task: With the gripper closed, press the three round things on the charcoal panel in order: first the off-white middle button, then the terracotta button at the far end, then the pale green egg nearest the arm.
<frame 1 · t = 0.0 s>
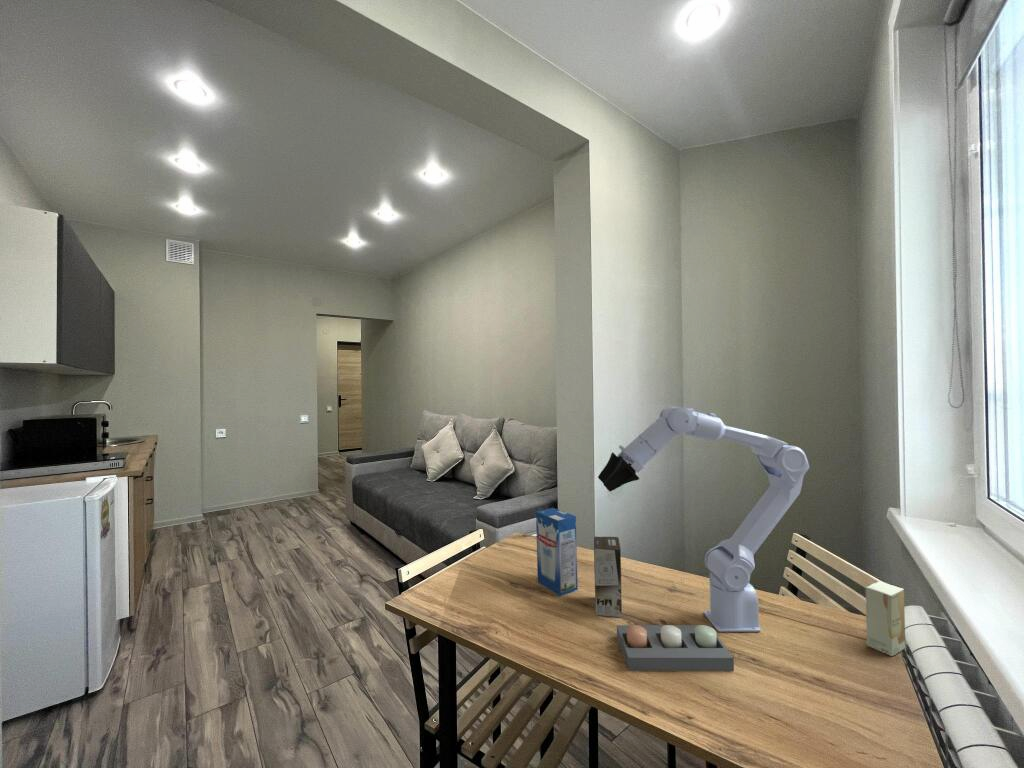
hand: (603, 484, 98), 32 cm above the table, tool tilted 50°, fingers open, 7 cm apart
button panel: (671, 652, 86), on the table
pale green egg: (705, 638, 86), point 3 cm above the table, slide at 0.0 cm
milk carton: (557, 586, 116), on the table
off-white button: (671, 638, 86), point 3 cm above the table, slide at 0.0 cm
terracotta button: (636, 638, 87), point 3 cm above the table, slide at 0.0 cm
coffee box: (608, 607, 105), on the table
skincare box: (886, 647, 87), on the table
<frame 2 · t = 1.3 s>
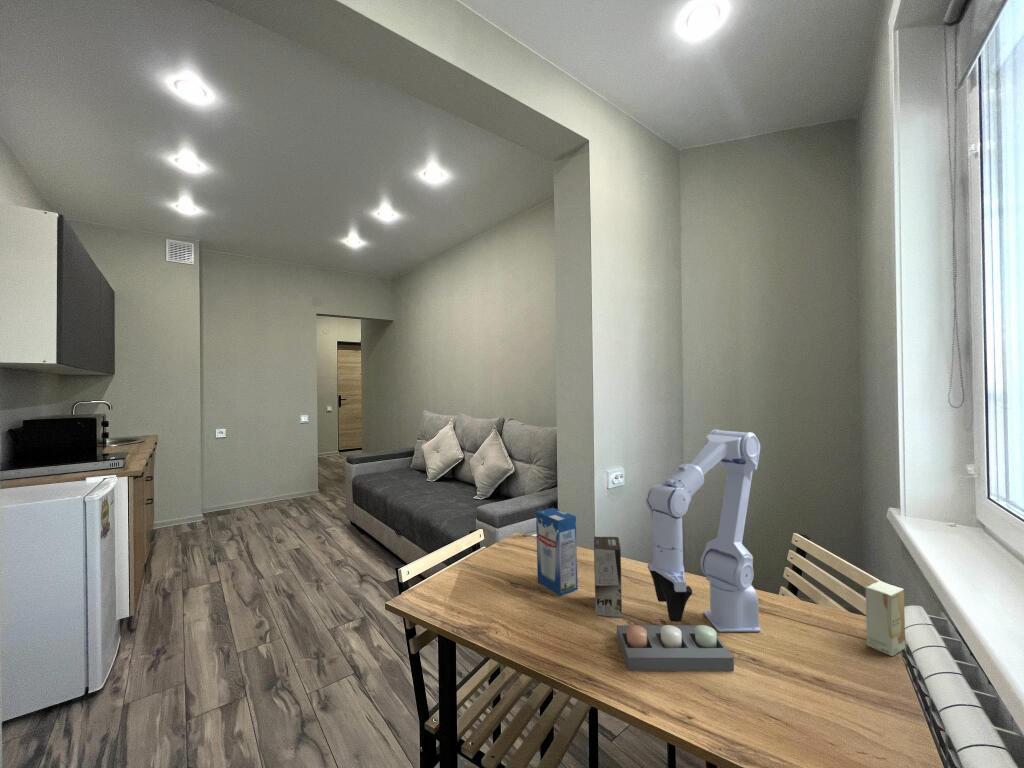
hand: (668, 610, 87), 9 cm above the table, tool pointing down, fingers open, 7 cm apart
nothing on the table moved.
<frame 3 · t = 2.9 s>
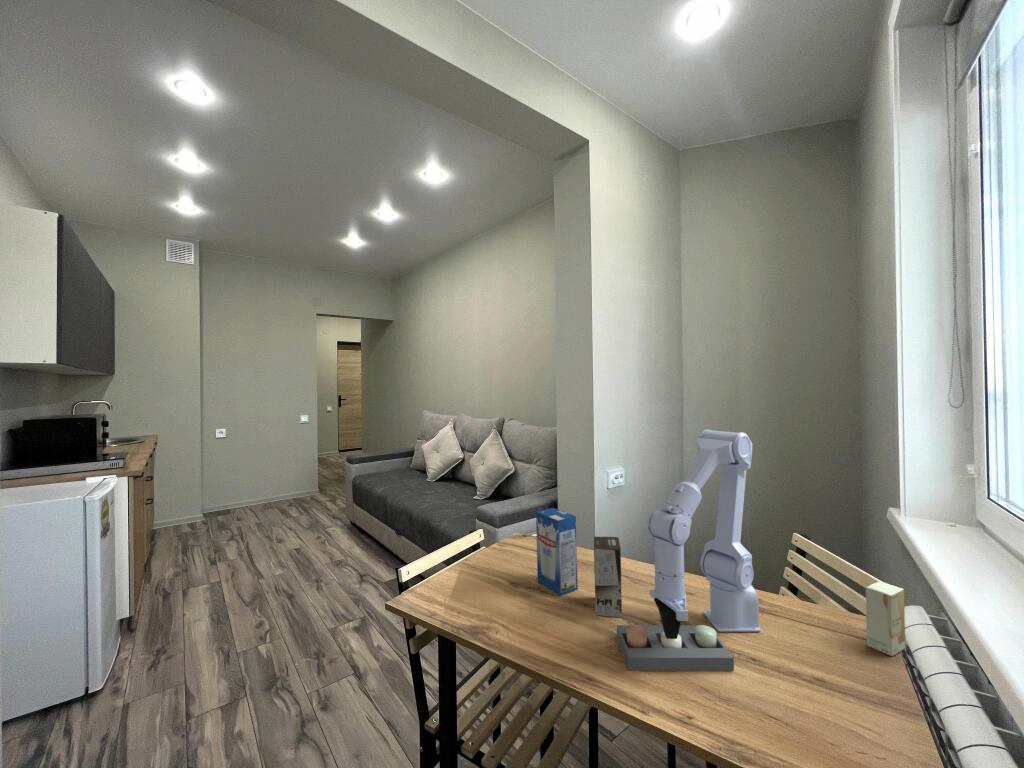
hand: (670, 636, 86), 3 cm above the table, tool pointing down, fingers closed, pressing on off-white button
off-white button: (671, 643, 86), point 2 cm above the table, slide at 1.2 cm, touching gripper
everything else where it was.
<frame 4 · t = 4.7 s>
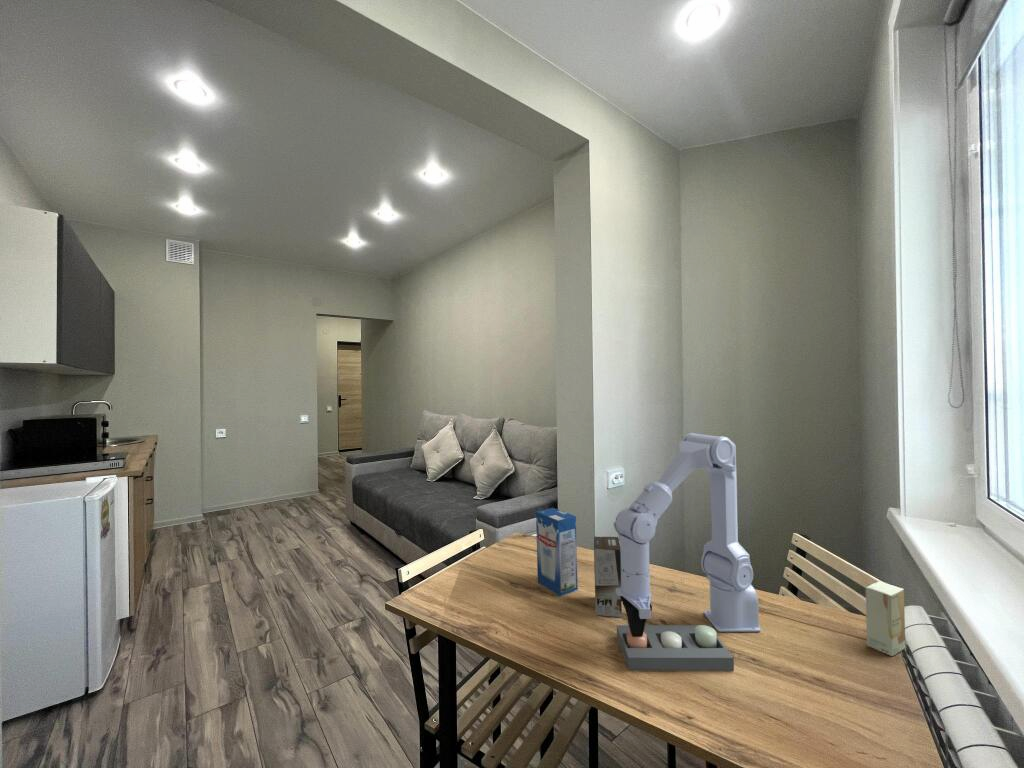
hand: (636, 634, 87), 4 cm above the table, tool pointing down, fingers closed, pressing on terracotta button
off-white button: (671, 644, 86), point 2 cm above the table, slide at 1.3 cm
terracotta button: (636, 642, 87), point 2 cm above the table, slide at 0.8 cm, touching gripper
everything else where it was.
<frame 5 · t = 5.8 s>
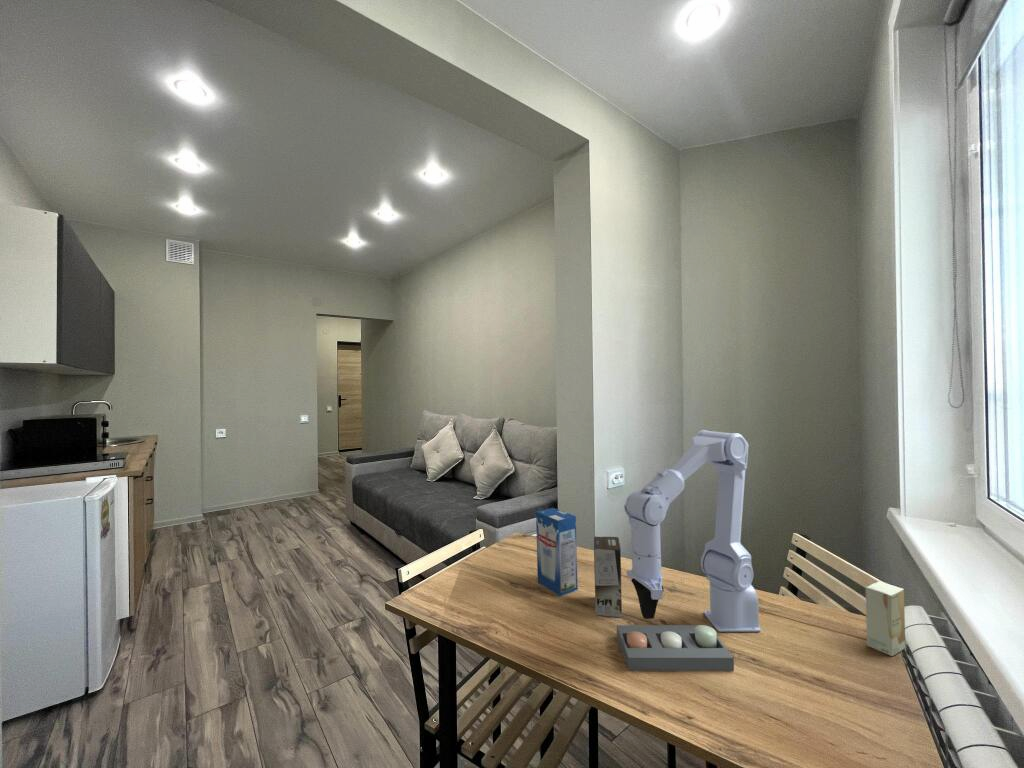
hand: (648, 617, 87), 7 cm above the table, tool pointing down, fingers closed
terracotta button: (636, 644, 87), point 2 cm above the table, slide at 1.3 cm
everything else where it was.
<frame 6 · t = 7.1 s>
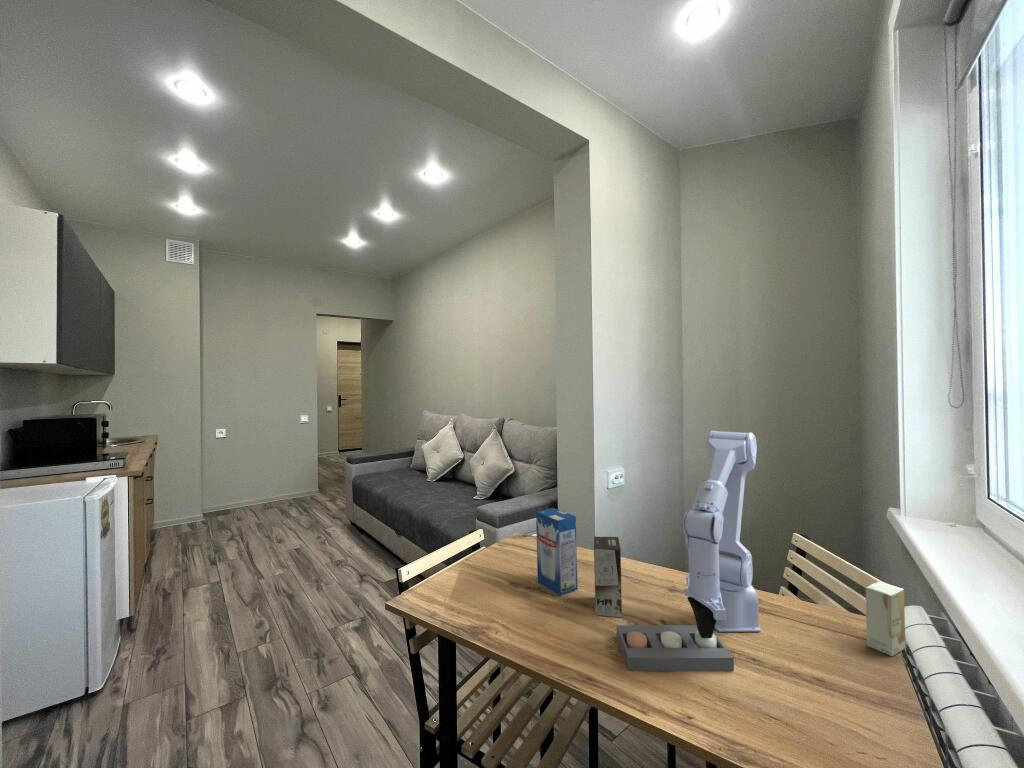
hand: (705, 636, 86), 3 cm above the table, tool pointing down, fingers closed, pressing on pale green egg
pale green egg: (705, 643, 86), point 2 cm above the table, slide at 1.1 cm, touching gripper
everything else where it was.
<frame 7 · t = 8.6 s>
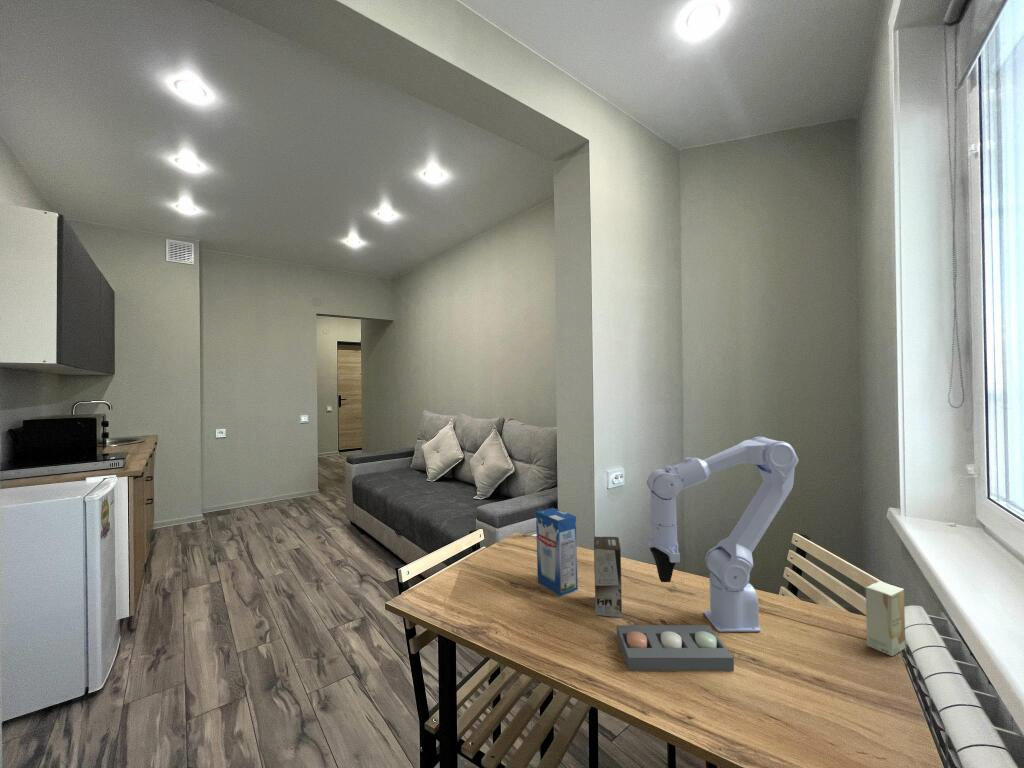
hand: (664, 580, 98), 9 cm above the table, tool pointing down, fingers closed
pale green egg: (705, 644, 86), point 2 cm above the table, slide at 1.3 cm
everything else where it was.
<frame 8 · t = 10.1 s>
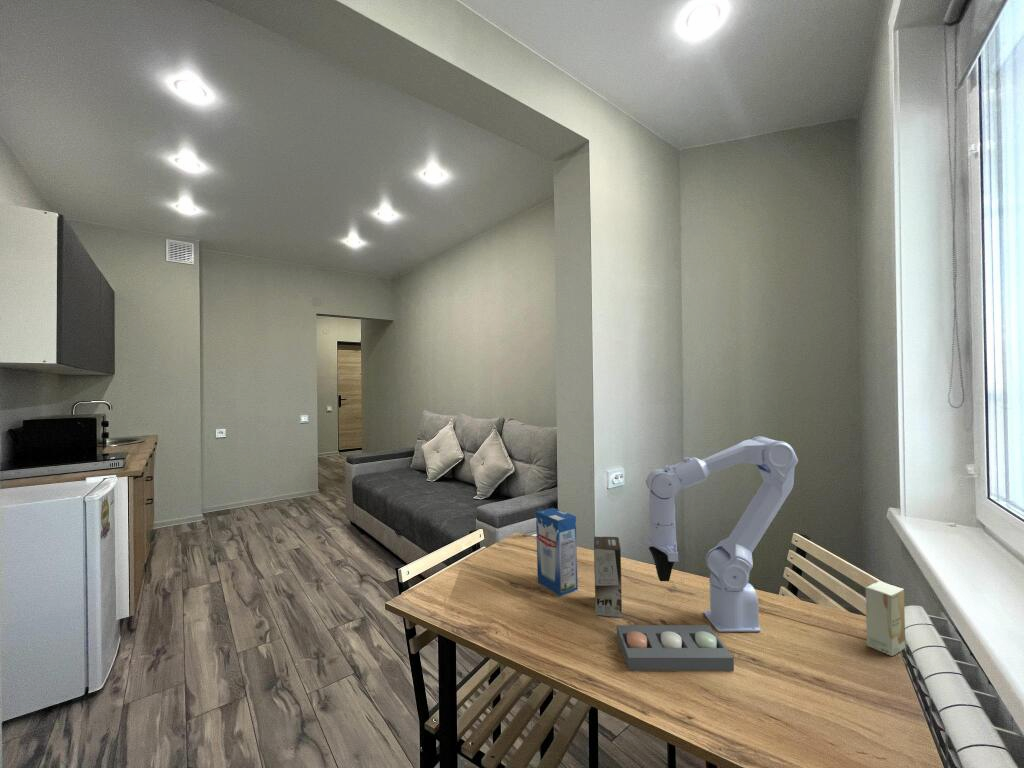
hand: (663, 579, 98), 9 cm above the table, tool pointing down, fingers closed
nothing on the table moved.
at the end: off-white button slide at 1.3 cm; terracotta button slide at 1.3 cm; pale green egg slide at 1.3 cm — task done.
